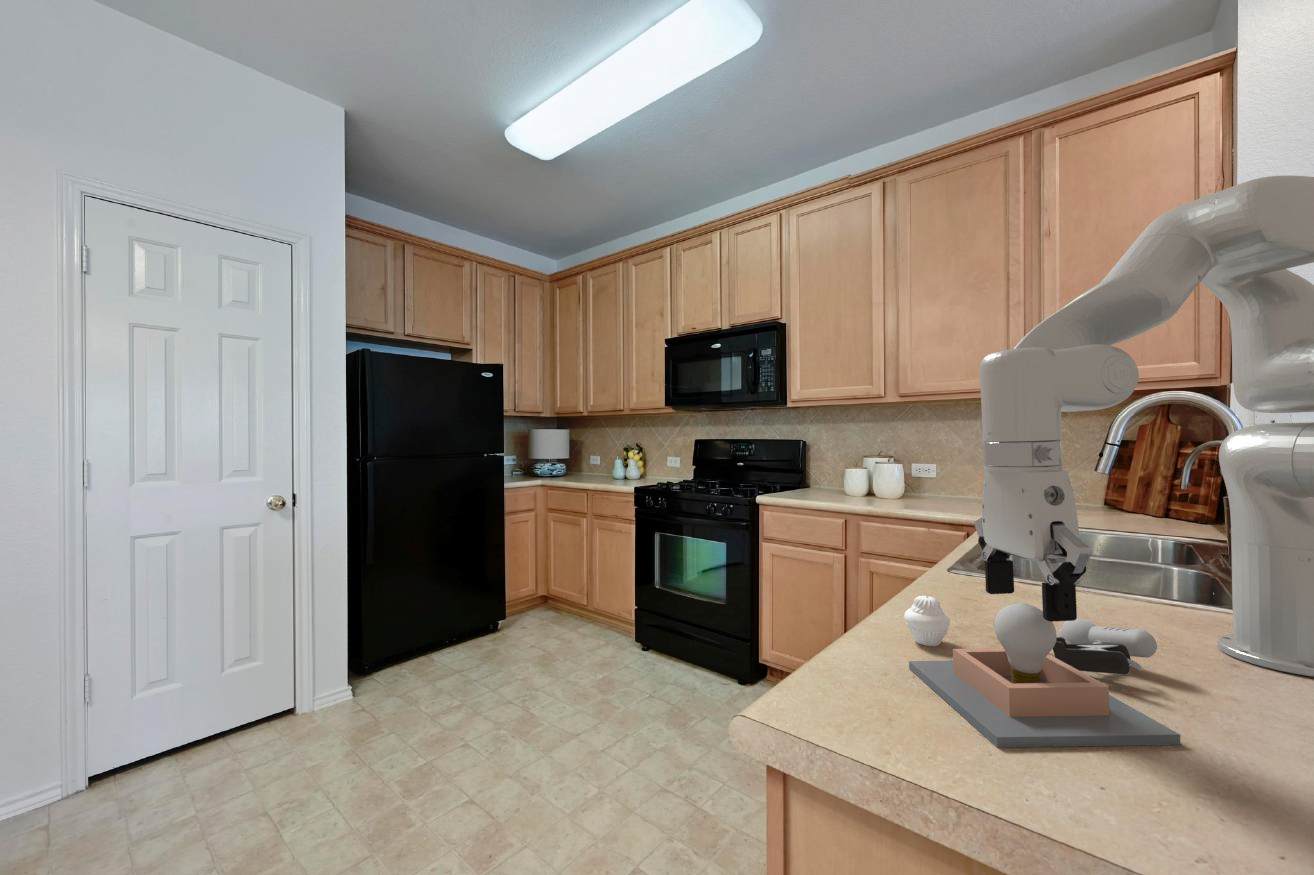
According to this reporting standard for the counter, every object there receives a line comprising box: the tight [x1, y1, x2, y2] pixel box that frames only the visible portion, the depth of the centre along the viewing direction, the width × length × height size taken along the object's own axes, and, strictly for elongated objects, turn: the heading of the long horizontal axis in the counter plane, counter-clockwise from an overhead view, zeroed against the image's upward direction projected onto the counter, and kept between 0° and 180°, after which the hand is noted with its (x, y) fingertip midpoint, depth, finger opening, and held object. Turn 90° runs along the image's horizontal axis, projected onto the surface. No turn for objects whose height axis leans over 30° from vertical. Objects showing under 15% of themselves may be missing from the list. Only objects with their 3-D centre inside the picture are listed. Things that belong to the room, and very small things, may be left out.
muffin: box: [903, 594, 951, 647], centre depth 79 cm, size 6×6×7 cm
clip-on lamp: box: [993, 618, 1158, 675], centre depth 73 cm, size 12×6×18 cm
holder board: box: [908, 647, 1181, 748], centre depth 61 cm, size 18×18×4 cm
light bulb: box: [993, 602, 1057, 684], centre depth 61 cm, size 6×6×10 cm
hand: (1027, 605), depth 61 cm, fingers open, 9 cm apart
